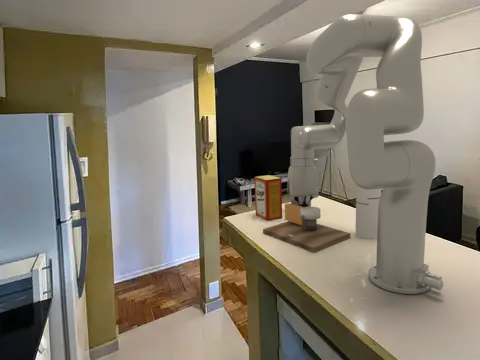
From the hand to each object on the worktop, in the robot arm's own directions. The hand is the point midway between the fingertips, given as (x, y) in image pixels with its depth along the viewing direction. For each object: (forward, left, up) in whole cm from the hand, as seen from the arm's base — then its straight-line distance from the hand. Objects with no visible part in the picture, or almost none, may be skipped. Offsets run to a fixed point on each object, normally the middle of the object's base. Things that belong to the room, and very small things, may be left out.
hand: (303, 214), depth 113 cm
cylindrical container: (-20, -8, -4) cm, 22 cm away
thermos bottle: (+13, -13, -4) cm, 19 cm away
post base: (-7, +7, -4) cm, 11 cm away
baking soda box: (+17, +1, -4) cm, 18 cm away
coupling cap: (-3, +4, -2) cm, 6 cm away
